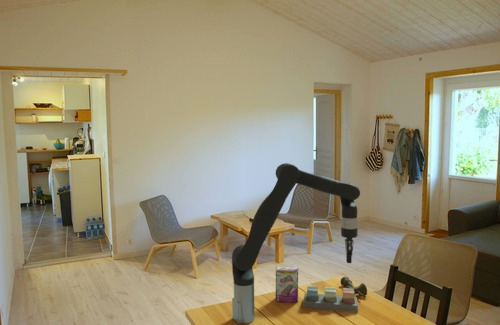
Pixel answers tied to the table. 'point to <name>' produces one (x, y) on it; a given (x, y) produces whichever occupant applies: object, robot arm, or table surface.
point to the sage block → (330, 294)
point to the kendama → (357, 290)
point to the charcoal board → (330, 304)
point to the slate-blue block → (312, 293)
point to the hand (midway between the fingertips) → (348, 262)
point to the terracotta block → (348, 295)
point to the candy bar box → (286, 284)
